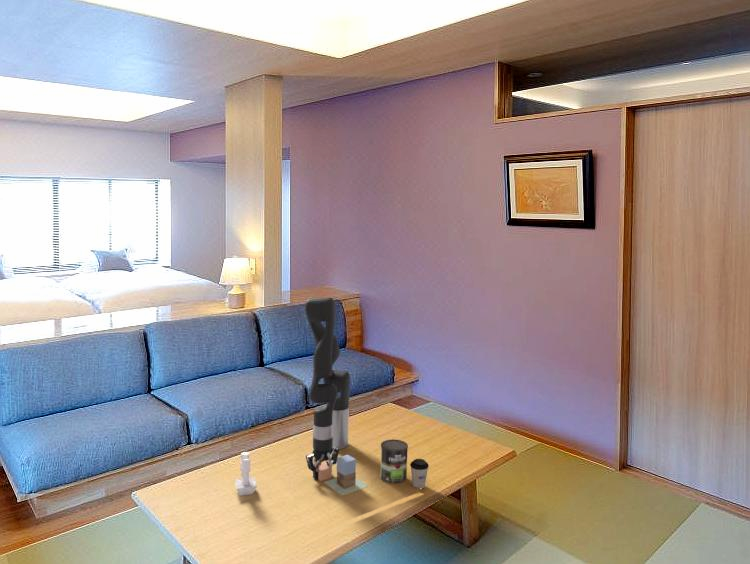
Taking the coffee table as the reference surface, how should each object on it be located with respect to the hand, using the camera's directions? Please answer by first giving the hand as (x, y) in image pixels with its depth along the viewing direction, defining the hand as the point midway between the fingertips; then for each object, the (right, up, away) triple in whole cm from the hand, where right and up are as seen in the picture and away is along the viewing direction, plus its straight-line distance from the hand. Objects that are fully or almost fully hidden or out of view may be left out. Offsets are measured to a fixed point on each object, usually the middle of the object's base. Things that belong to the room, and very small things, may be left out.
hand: (322, 477), depth 220 cm
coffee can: (+27, -1, +1) cm, 27 cm away
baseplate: (+9, -2, -5) cm, 11 cm away
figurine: (-27, -2, -11) cm, 29 cm away
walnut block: (+9, -1, -5) cm, 11 cm away
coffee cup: (+36, -2, -4) cm, 37 cm away
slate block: (+9, +4, -6) cm, 12 cm away
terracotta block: (0, -1, 0) cm, 1 cm away
